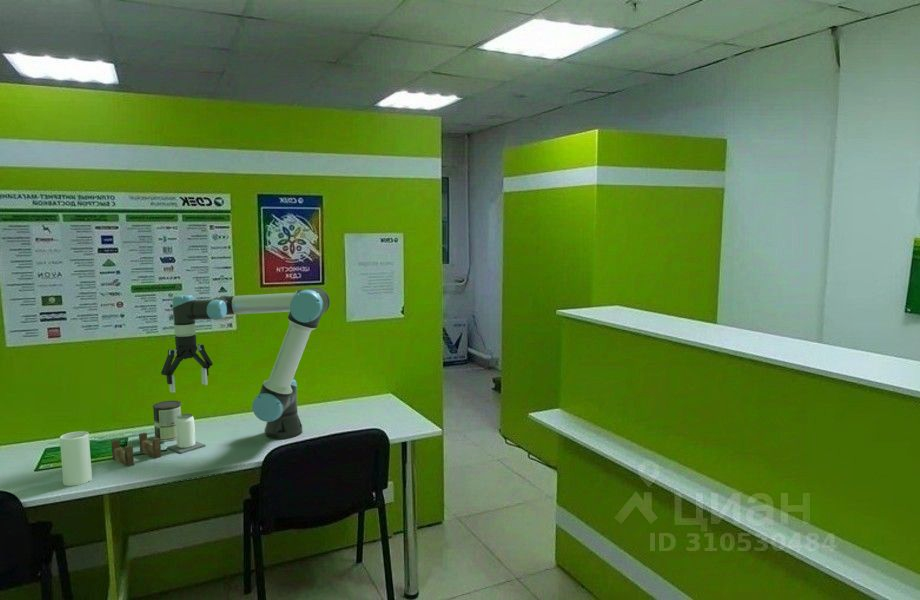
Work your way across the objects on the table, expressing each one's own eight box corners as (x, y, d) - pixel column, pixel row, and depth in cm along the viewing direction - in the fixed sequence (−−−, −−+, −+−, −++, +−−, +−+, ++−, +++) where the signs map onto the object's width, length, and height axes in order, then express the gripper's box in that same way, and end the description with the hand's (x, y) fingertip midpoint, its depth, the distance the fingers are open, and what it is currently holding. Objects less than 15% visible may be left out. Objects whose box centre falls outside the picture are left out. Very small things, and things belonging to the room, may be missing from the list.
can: (186, 442, 240) (184, 412, 238) (199, 443, 238) (197, 414, 236) (173, 447, 233) (171, 417, 232) (187, 449, 231) (185, 419, 230)
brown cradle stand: (161, 456, 226) (160, 438, 225) (128, 466, 216) (126, 447, 215) (145, 450, 233) (144, 432, 232) (112, 459, 223) (111, 441, 222)
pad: (205, 446, 237) (205, 444, 236) (180, 453, 229) (180, 452, 228) (191, 441, 242) (191, 439, 242) (167, 448, 234) (167, 446, 234)
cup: (71, 476, 207) (68, 431, 206) (96, 475, 208) (93, 430, 206) (58, 486, 199) (54, 439, 197) (84, 485, 200) (80, 438, 198)
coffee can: (149, 440, 243) (146, 406, 242) (166, 432, 253) (164, 399, 252) (171, 442, 241) (169, 408, 239) (188, 434, 251) (186, 401, 250)
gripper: (208, 329, 247) (211, 380, 249) (148, 338, 226) (152, 394, 229) (219, 330, 243) (222, 382, 245) (159, 340, 222) (163, 396, 224)
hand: (189, 388), depth 237 cm, fingers open, 13 cm apart
